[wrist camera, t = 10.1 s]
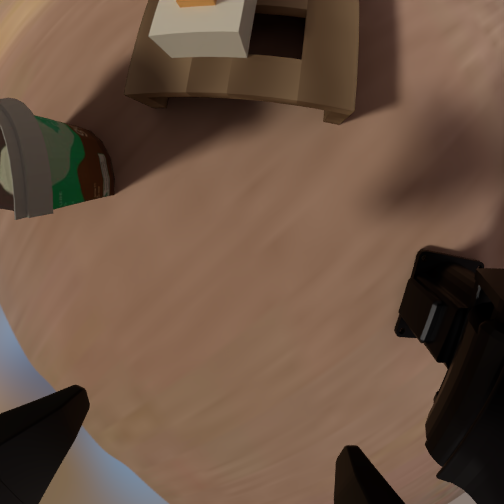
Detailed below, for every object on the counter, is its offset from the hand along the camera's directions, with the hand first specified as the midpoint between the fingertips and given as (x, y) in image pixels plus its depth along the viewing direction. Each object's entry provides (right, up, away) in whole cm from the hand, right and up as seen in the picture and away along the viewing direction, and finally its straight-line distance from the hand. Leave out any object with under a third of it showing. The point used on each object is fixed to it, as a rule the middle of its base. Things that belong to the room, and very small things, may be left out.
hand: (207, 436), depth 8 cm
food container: (-12, +14, +10) cm, 21 cm away
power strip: (0, +23, +5) cm, 24 cm away
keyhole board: (+2, +23, +6) cm, 24 cm away
